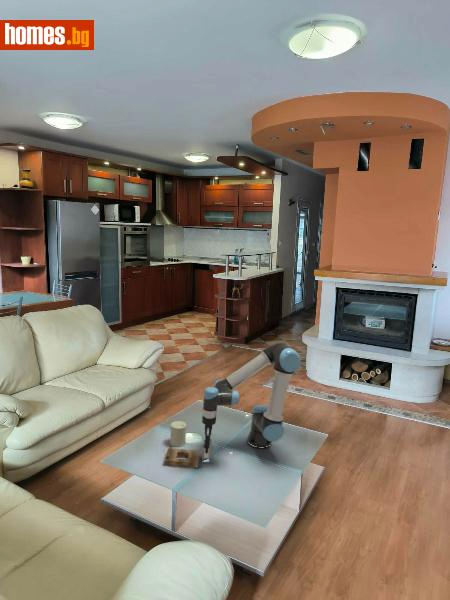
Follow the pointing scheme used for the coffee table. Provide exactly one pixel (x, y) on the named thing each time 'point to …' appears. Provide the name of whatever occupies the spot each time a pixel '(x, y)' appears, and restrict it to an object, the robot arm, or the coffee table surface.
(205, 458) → the grey square block
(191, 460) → the jig
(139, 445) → the coffee table surface
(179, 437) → the can
